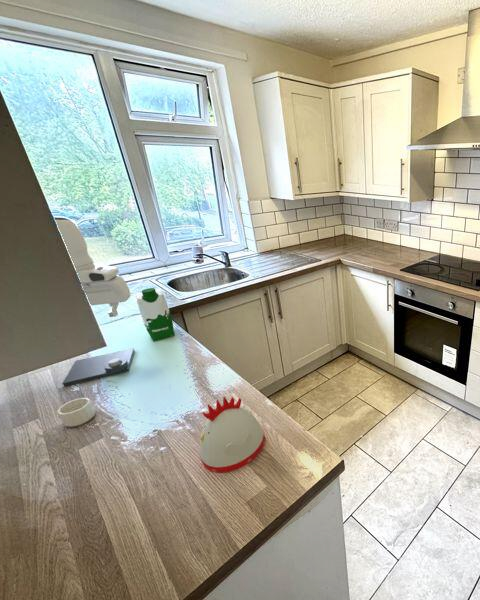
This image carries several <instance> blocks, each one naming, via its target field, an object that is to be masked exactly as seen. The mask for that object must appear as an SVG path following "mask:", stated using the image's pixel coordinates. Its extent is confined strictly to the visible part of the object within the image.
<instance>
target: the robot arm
mask: <svg viewBox="0 0 480 600" xmlns="http://www.w3.org/2000/svg"><path fill="white" fill-rule="evenodd" d="M53 215H54V218H55V220H56V222H57V225H58V228H59V230H60V232H61V234H62V237H63V239H64V242H65V244H66V246H67V249H68V252H69V254H70V256H71V259H72V261H73V263H74V266H75V268H76V271H77V273H78V276H79V278H80V281H81V284H82V286H83V289H84V291H85V293H86V295H87V297H88V300H89V302H90V304H91V306H99V305H109V307H110V308H111V309H109V311H108V312H107V314H108V315H109V318H115V317H118V315H119V313H118V311H117V310H118V307H119V304H120V303H125V302H127V301H128V300H129V299H130V297H131V296H132V295H131V291H130V289H129V286H128V285H127V282H126V280H125V279H124V278H123V277H122V276H121V275H119V273H120V271H119V269H118V267H117V266H110V265H105V264H99V263H95V262H94V260H93V258H92V257H91V255H90V253H89V251H88V244H87V241H86V239H85V237H84V235H83V233H82V231H81V228H80V227H79V225H78V224H77V223H76V222H75V220H72V219H71V218H69V217H67V216H63V215H55V214H53Z"/></svg>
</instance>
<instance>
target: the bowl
mask: <svg viewBox="0 0 480 600" xmlns="http://www.w3.org/2000/svg"><path fill="white" fill-rule="evenodd" d="M96 412H97V411H96V410H95V408H94V405H93V403H92V401H91V399H90V398H88V397H79V398H75V399H72V400H70V401H67V402H65V403H64V404H62V405H61V406H59V408H58V409H57V411H56V413H57V414H58V416H59V418H60V420H61V422H62V424H63V425H64V426H65V427H71V428H73V427H78V426H81V425H84V424H85V423H87V422H89V421H90V420H92V419H93V418H94V416H95V415H96Z"/></svg>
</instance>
